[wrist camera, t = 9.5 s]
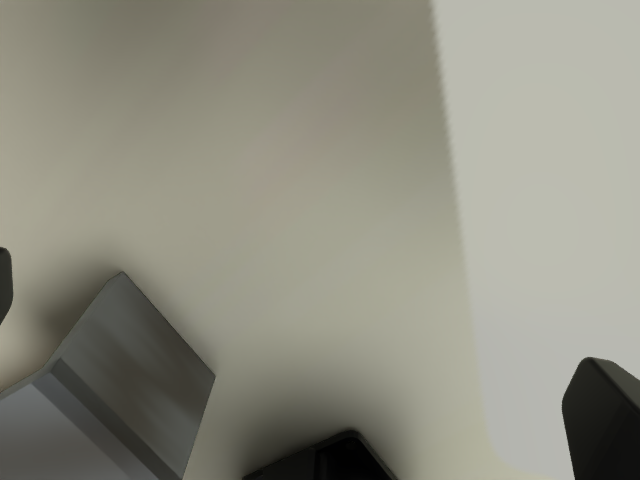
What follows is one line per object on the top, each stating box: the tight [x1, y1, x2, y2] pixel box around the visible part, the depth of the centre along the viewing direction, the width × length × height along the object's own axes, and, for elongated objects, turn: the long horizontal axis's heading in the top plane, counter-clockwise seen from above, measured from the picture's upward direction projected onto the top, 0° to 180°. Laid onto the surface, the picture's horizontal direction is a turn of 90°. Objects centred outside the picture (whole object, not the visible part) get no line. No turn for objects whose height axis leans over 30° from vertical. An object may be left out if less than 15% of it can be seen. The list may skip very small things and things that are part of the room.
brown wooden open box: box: [0, 272, 216, 480], centre depth 23 cm, size 9×12×6 cm
